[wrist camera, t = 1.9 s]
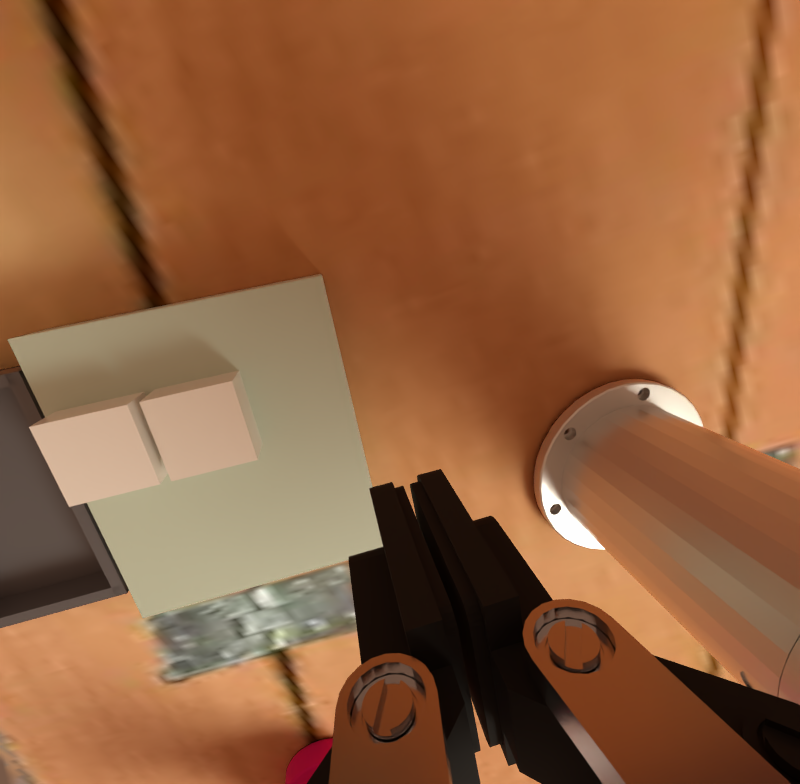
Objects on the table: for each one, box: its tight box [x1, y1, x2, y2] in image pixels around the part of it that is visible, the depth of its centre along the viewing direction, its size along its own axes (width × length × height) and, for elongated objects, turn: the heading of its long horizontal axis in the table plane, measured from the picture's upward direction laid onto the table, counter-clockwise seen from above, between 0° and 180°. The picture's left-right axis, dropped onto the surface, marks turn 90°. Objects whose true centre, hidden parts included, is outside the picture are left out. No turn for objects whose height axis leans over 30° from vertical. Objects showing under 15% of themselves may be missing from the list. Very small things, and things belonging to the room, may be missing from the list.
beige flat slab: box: [7, 274, 383, 618], centre depth 24 cm, size 14×16×3 cm
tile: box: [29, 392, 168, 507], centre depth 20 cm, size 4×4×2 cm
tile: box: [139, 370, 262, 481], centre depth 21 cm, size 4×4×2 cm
